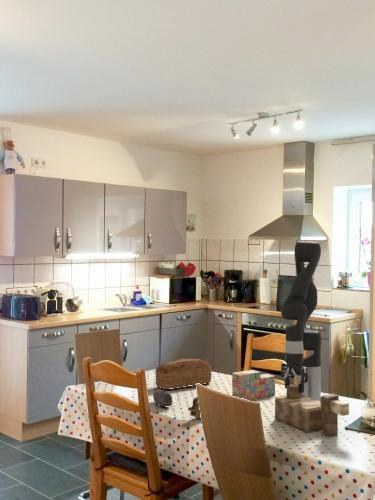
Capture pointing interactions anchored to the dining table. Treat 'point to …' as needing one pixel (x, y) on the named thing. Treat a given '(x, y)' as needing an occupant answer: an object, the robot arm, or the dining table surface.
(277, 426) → the dining table surface
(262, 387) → the stack of blocks
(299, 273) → the robot arm
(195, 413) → the wooden carving
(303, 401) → the lid
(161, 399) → the perforated stone tool
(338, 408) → the wooden key
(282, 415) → the brown wooden blocky piece
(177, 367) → the bread
